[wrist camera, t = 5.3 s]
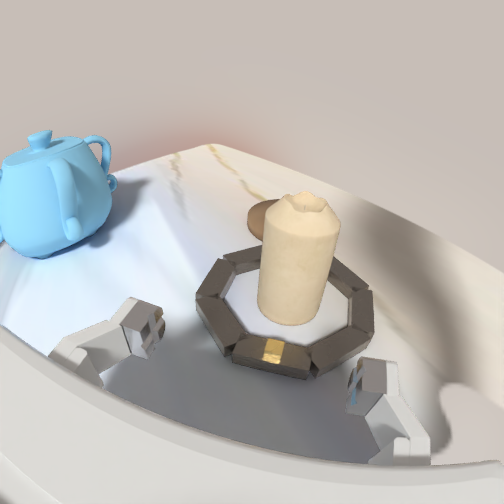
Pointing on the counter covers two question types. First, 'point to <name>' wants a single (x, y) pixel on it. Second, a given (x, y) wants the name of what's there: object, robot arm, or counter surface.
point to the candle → (296, 257)
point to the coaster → (258, 218)
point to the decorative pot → (54, 193)
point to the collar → (274, 351)
